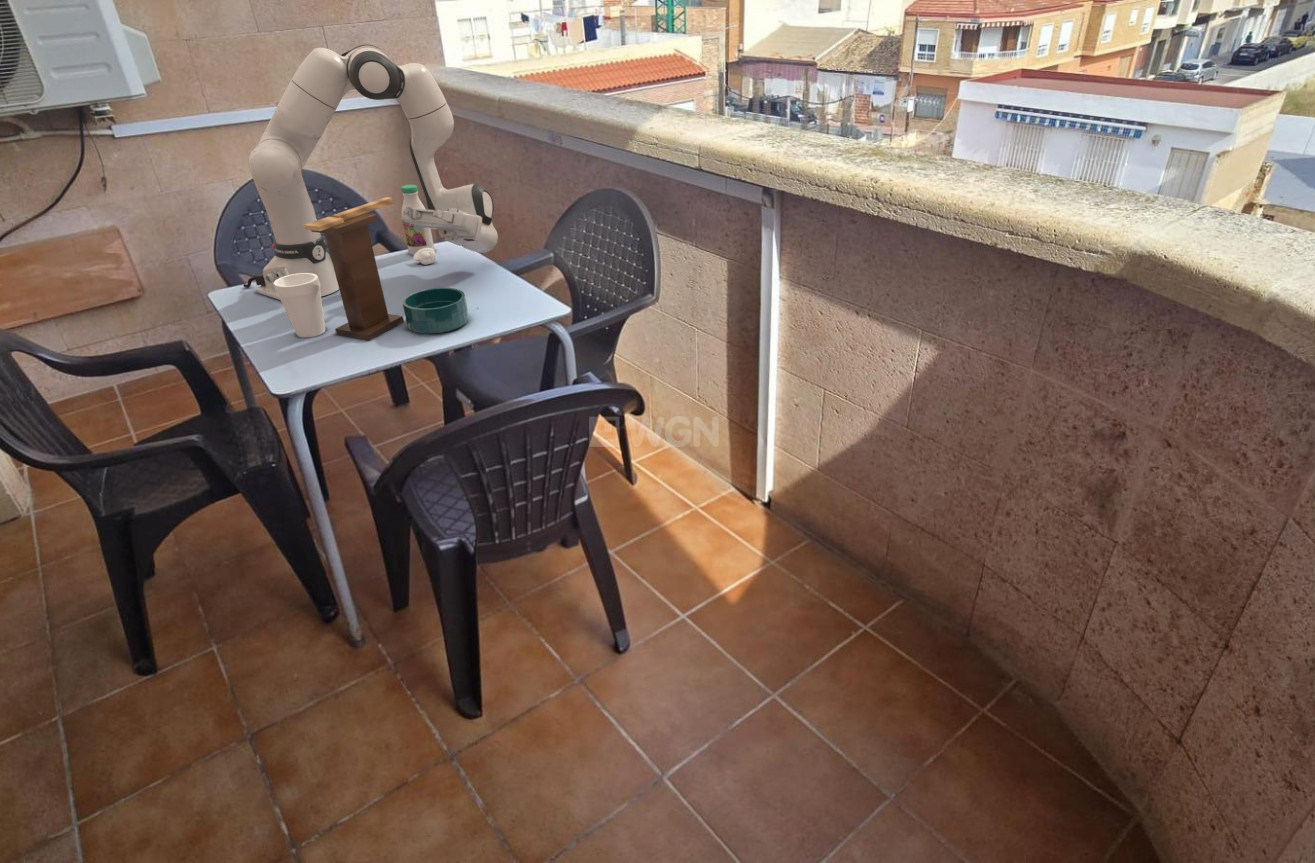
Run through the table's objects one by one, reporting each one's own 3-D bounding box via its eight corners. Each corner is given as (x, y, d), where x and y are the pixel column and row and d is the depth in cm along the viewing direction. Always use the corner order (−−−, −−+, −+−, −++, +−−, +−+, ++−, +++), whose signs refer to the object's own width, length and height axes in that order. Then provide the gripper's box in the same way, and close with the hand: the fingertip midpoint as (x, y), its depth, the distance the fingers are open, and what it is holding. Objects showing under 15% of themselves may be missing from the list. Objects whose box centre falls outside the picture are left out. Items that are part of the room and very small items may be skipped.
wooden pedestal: (336, 334, 172) (306, 224, 159) (372, 316, 182) (346, 211, 168) (369, 340, 169) (340, 228, 155) (403, 321, 178) (380, 214, 165)
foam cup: (316, 341, 169) (301, 287, 163) (281, 338, 171) (264, 285, 164) (339, 325, 177) (325, 273, 171) (306, 323, 179) (290, 272, 172)
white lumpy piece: (439, 260, 220) (438, 248, 217) (433, 269, 216) (432, 257, 213) (417, 256, 220) (415, 244, 217) (410, 264, 216) (409, 253, 213)
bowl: (395, 330, 173) (389, 304, 170) (433, 309, 185) (429, 284, 181) (444, 339, 168) (438, 312, 165) (480, 316, 180) (476, 291, 176)
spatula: (383, 202, 174) (382, 196, 174) (397, 204, 173) (395, 198, 172) (305, 229, 156) (303, 223, 155) (319, 231, 154) (318, 224, 153)
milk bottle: (420, 247, 231) (407, 182, 221) (439, 250, 228) (427, 184, 218) (403, 254, 225) (389, 187, 215) (423, 257, 222) (409, 189, 212)
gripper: (425, 211, 200) (390, 195, 187) (487, 217, 192) (454, 201, 180) (421, 234, 200) (386, 220, 187) (483, 241, 193) (450, 227, 180)
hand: (420, 211), depth 183 cm, fingers open, 8 cm apart
